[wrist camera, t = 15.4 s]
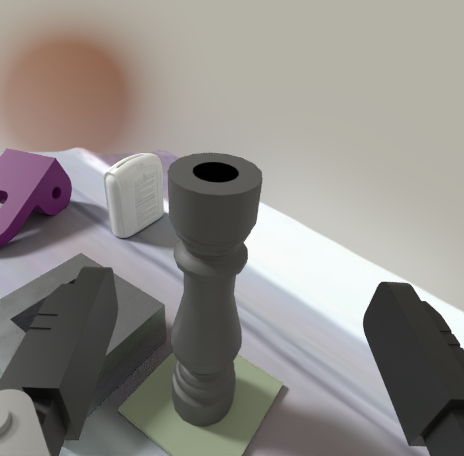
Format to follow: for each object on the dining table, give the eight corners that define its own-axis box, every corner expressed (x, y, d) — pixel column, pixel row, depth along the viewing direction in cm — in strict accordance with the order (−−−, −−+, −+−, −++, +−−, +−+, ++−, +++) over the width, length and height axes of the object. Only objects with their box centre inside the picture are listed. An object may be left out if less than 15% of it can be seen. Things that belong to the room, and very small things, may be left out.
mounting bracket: (23, 276, 55) (77, 188, 64) (-10, 253, 48) (55, 158, 57) (-25, 262, 57) (33, 179, 65) (-65, 238, 50) (7, 148, 58)
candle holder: (162, 417, 33) (145, 185, 18) (184, 361, 38) (183, 145, 23) (225, 434, 32) (258, 206, 18) (238, 375, 37) (272, 160, 23)
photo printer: (149, 207, 64) (145, 144, 57) (167, 215, 62) (165, 151, 55) (106, 233, 57) (96, 164, 50) (125, 242, 55) (117, 172, 48)
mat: (218, 497, 28) (218, 494, 28) (118, 411, 33) (117, 408, 33) (282, 386, 37) (283, 383, 37) (195, 331, 42) (195, 328, 42)
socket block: (59, 444, 31) (43, 409, 27) (-23, 361, 36) (-44, 324, 33) (166, 339, 41) (164, 304, 37) (88, 287, 46) (81, 253, 43)
